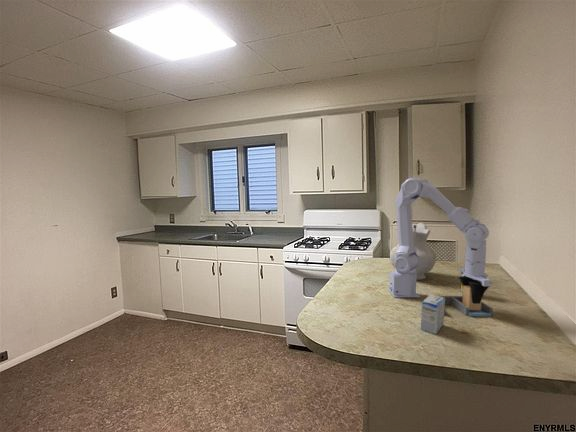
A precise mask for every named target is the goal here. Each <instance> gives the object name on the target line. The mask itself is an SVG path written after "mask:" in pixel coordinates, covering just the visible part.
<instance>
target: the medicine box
mask: <svg viewBox="0 0 576 432" xmlns="http://www.w3.org/2000/svg"><path fill="white" fill-rule="evenodd" d="M440 296H441V295H434V294H429V295H427V297H426V298H425V299H423V301H422V302H421V313H420V314H421V316H420V330H421V331H424V332H427V333H430V334H434V335H436V334H437V333H438V332H439V331H440V329H441V328H442V326H443V325H444V320H445V315H444V308H445V309H446V307H445V306H446V304H445V298H443V297H440Z"/></svg>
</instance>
